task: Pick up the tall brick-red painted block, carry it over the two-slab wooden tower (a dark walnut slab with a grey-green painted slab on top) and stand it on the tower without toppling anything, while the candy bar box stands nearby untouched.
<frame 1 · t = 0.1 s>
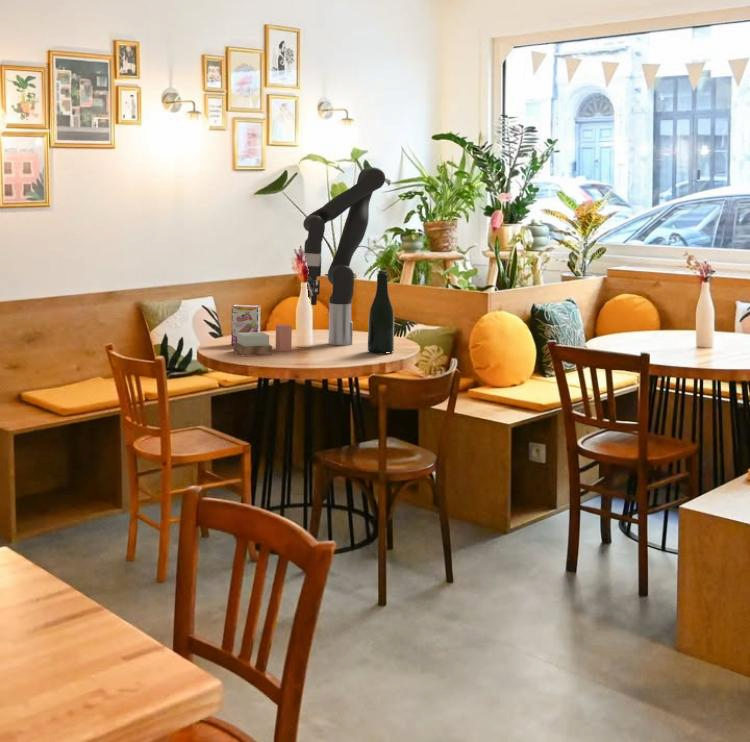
hand: (310, 303, 443), 17 cm above the table, tool pointing down, fingers open, 8 cm apart
painted slab: (253, 344, 422), point 3 cm above the table, touching walnut slab
beer bottle: (380, 353, 432), on the table
walnut slab: (252, 354, 423), on the table, touching painted slab
brick-red block: (283, 350, 432), on the table
candy bar box: (245, 345, 442), on the table
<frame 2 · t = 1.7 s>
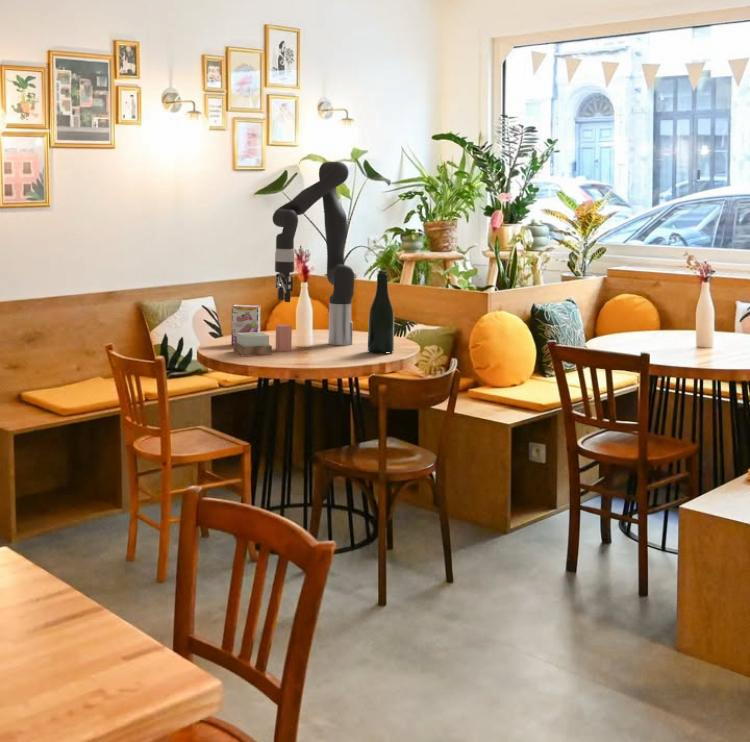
hand: (283, 301, 428), 20 cm above the table, tool pointing down, fingers open, 8 cm apart
nothing on the table moved.
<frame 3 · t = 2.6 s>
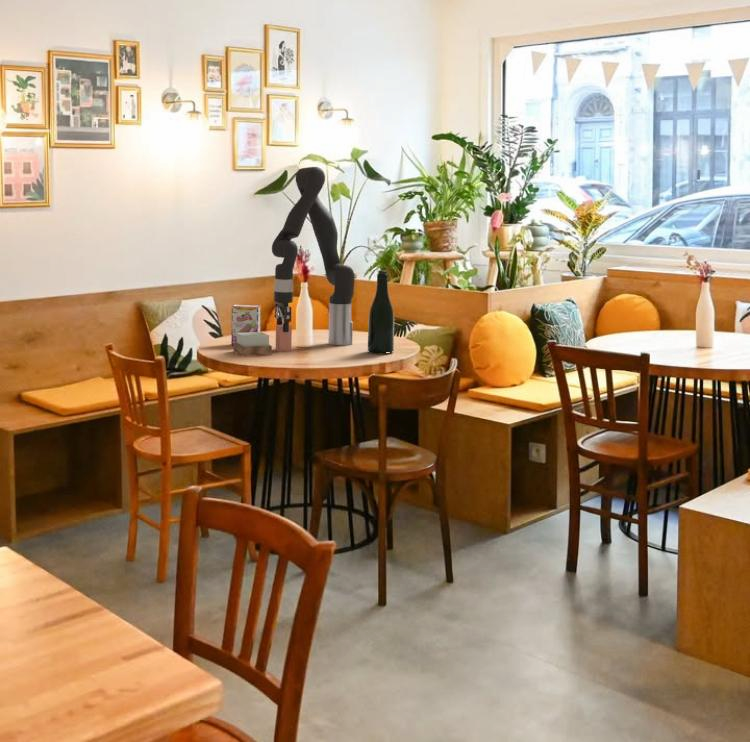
hand: (282, 330, 430), 8 cm above the table, tool pointing down, fingers open, 8 cm apart
nothing on the table moved.
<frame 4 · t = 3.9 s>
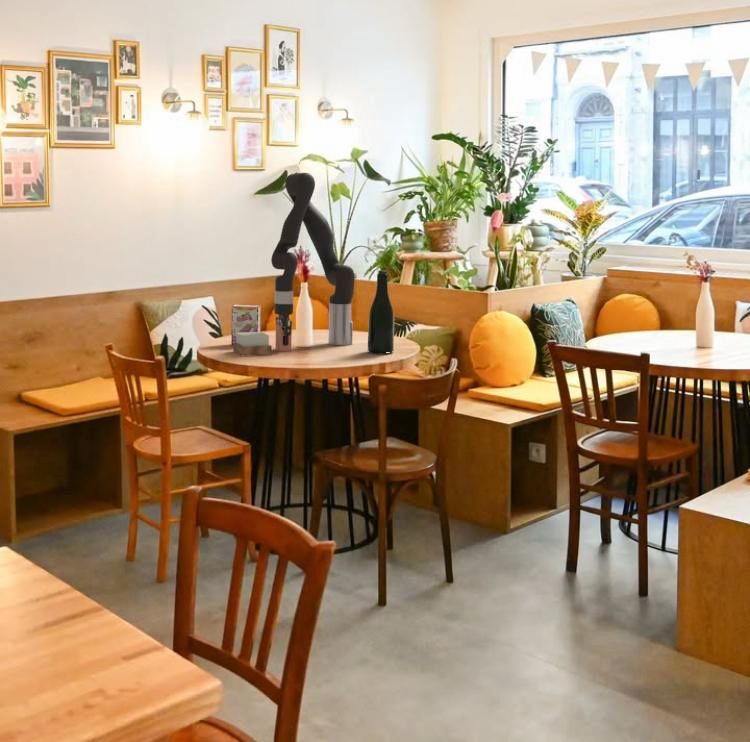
hand: (283, 344, 431), 2 cm above the table, tool pointing down, fingers closed on brick-red block, 5 cm apart
painted slab: (252, 344, 422), point 3 cm above the table
walnut slab: (252, 354, 423), on the table
brick-red block: (283, 350, 432), on the table, touching gripper
everything else where it was.
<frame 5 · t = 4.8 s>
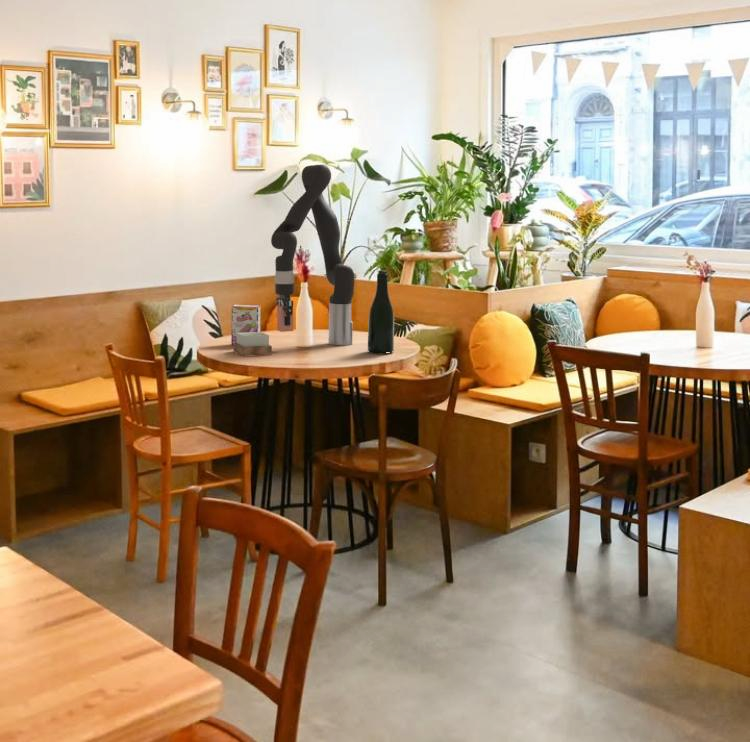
hand: (285, 324, 430), 10 cm above the table, tool pointing down, fingers closed on brick-red block, 5 cm apart
painted slab: (252, 344, 422), point 3 cm above the table, touching walnut slab
walnut slab: (252, 354, 423), on the table, touching painted slab
brick-red block: (285, 330, 430), point 8 cm above the table, touching gripper
everything else where it was.
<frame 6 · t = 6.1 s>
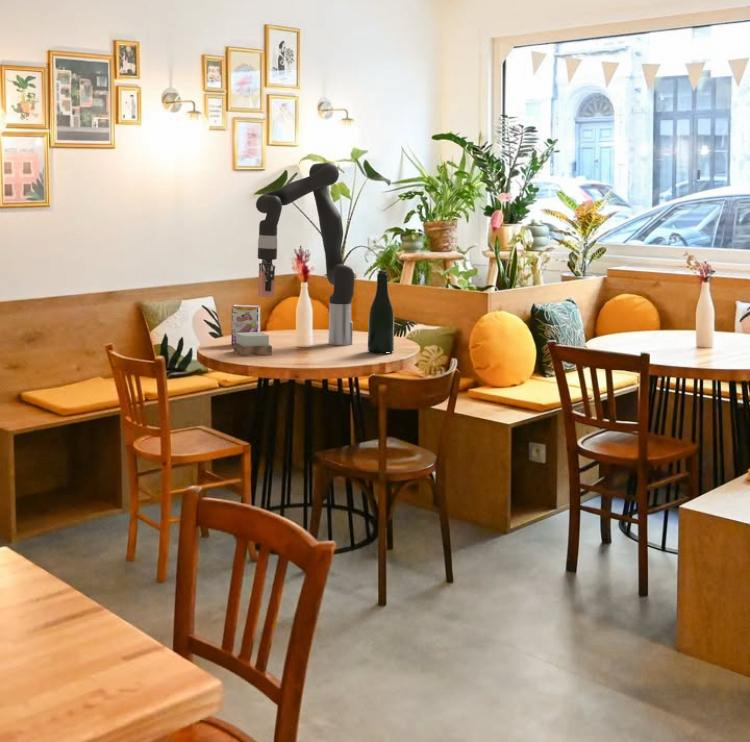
hand: (266, 290, 422), 24 cm above the table, tool pointing down, fingers closed on brick-red block, 5 cm apart
brick-red block: (265, 296, 423), point 22 cm above the table, touching gripper
everything else where it was.
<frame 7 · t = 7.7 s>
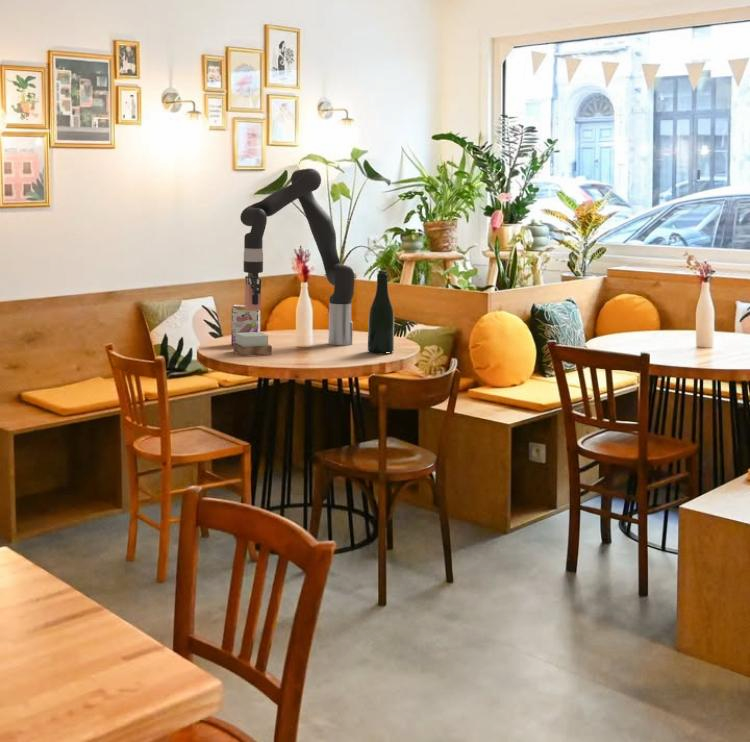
hand: (253, 303, 419), 20 cm above the table, tool pointing down, fingers closed on brick-red block, 5 cm apart
brick-red block: (252, 309, 420), point 17 cm above the table, touching gripper
everything else where it was.
when the fingers open (11 cm above the table, at t = 9.9 s): brick-red block drops 1 cm, resting on painted slab.
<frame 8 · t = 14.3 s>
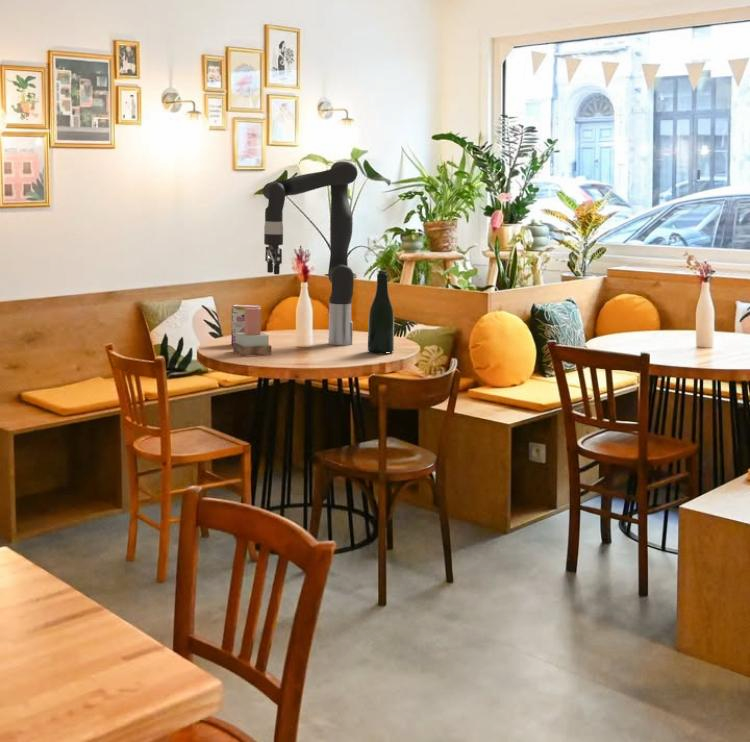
hand: (273, 273, 433), 30 cm above the table, tool pointing down, fingers open, 8 cm apart
painted slab: (251, 344, 422), point 4 cm above the table, touching brick-red block, walnut slab
brick-red block: (252, 334, 421), point 8 cm above the table, touching painted slab
everything else where it was.
at the end: brick-red block inside the target area on the walnut slab (0.2 cm from its centre), point 8.0 cm above the walnut slab's base; brick-red block tilted 0°; painted slab tilted 0° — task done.
